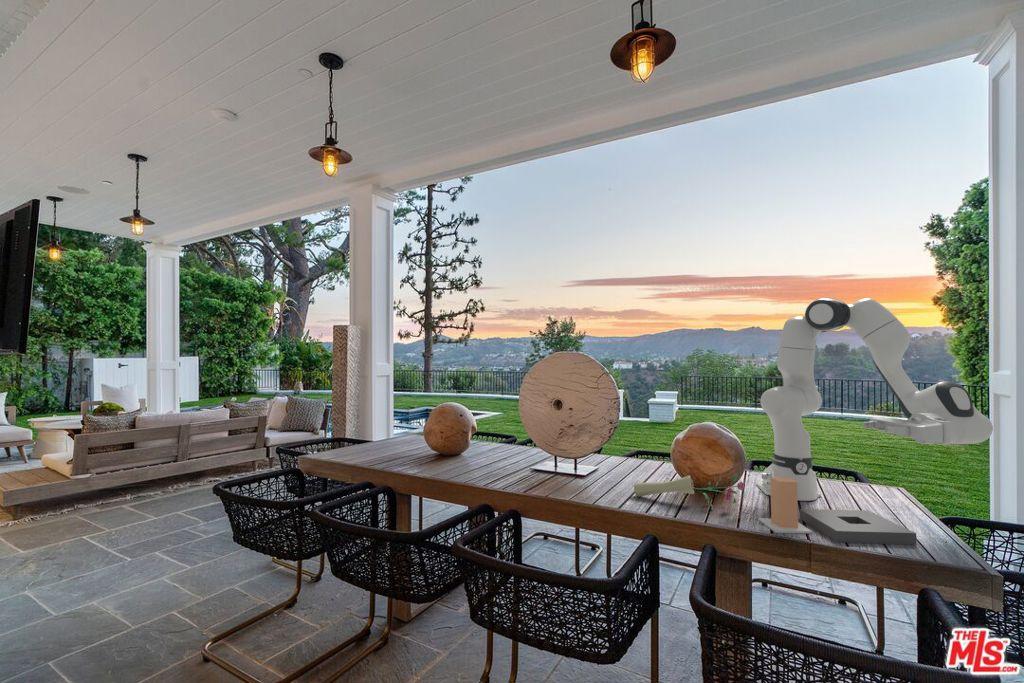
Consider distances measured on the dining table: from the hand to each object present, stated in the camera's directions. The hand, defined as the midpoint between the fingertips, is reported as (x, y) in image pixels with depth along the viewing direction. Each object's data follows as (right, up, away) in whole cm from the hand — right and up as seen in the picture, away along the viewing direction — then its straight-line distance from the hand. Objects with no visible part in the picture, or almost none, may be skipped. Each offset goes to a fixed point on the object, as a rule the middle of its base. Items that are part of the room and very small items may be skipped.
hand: (875, 427), depth 136 cm
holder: (-9, -29, -4) cm, 30 cm away
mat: (-27, -29, -1) cm, 40 cm away
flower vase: (-48, -30, +20) cm, 60 cm away
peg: (-27, -28, -1) cm, 39 cm away
